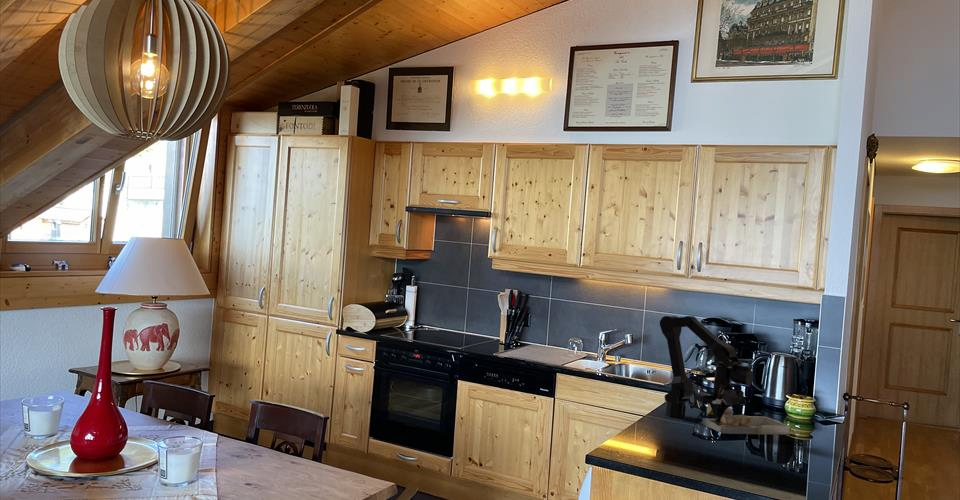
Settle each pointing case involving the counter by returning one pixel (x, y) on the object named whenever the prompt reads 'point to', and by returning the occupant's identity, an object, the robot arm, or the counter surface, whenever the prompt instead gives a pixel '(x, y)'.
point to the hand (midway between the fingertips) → (717, 421)
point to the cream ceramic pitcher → (727, 412)
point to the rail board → (751, 427)
